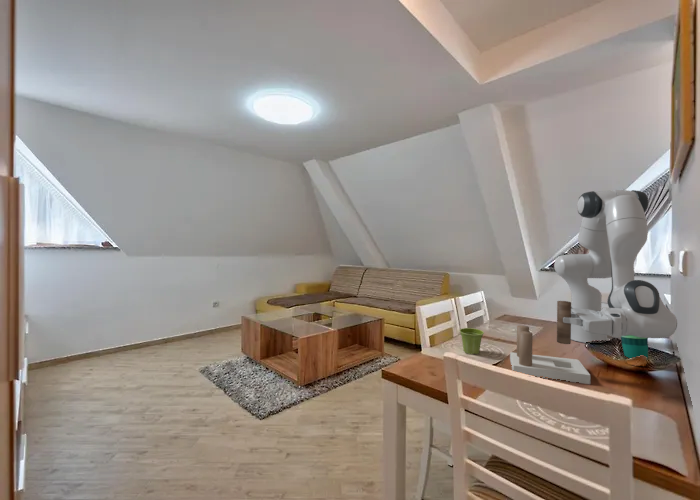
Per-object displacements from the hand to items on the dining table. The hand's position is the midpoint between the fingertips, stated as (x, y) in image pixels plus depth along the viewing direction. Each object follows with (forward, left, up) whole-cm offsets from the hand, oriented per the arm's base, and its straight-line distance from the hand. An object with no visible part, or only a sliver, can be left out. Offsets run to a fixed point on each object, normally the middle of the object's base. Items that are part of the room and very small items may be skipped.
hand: (560, 317), depth 112 cm
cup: (-19, +27, -19) cm, 38 cm away
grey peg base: (0, -4, -19) cm, 20 cm away
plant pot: (-11, -29, -19) cm, 37 cm away
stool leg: (0, +1, -8) cm, 8 cm away
